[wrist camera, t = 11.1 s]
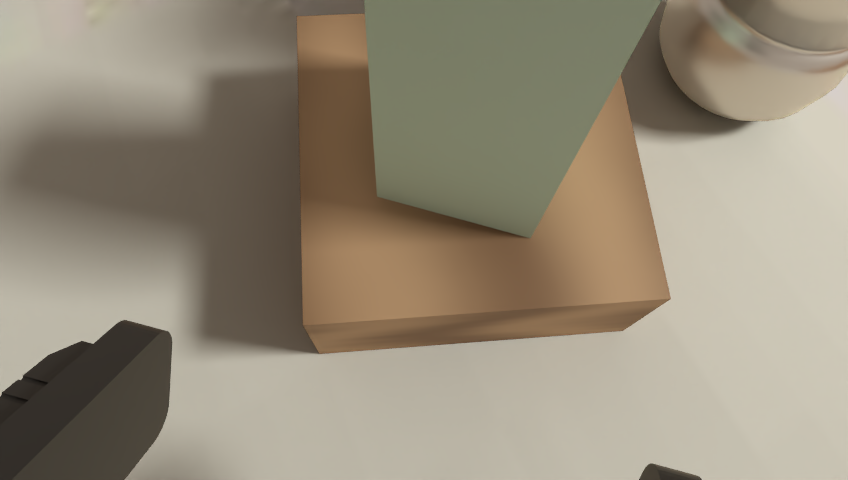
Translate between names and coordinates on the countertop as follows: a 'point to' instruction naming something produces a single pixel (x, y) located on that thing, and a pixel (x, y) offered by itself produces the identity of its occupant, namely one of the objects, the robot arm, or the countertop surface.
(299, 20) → the base
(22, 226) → the countertop surface
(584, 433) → the countertop surface
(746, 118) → the plastic bottle
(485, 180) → the block
